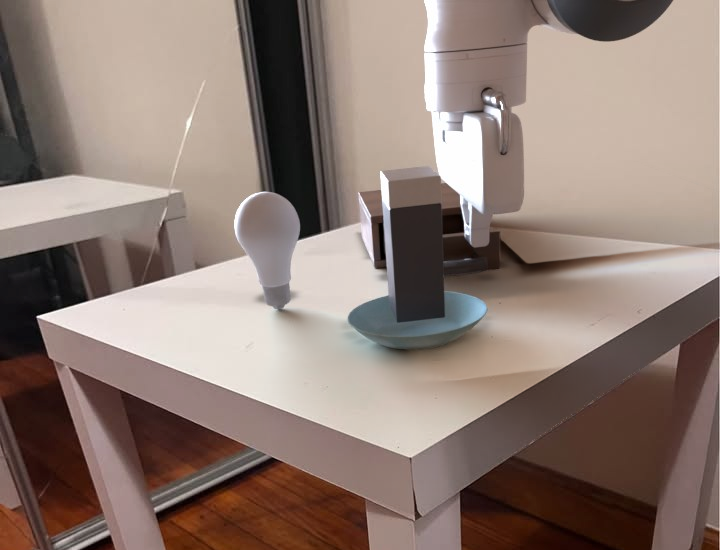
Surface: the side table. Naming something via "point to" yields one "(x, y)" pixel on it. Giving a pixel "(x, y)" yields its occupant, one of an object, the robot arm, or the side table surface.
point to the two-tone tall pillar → (413, 242)
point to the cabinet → (374, 215)
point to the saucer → (417, 322)
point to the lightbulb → (269, 242)
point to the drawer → (462, 248)
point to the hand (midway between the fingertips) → (476, 243)
